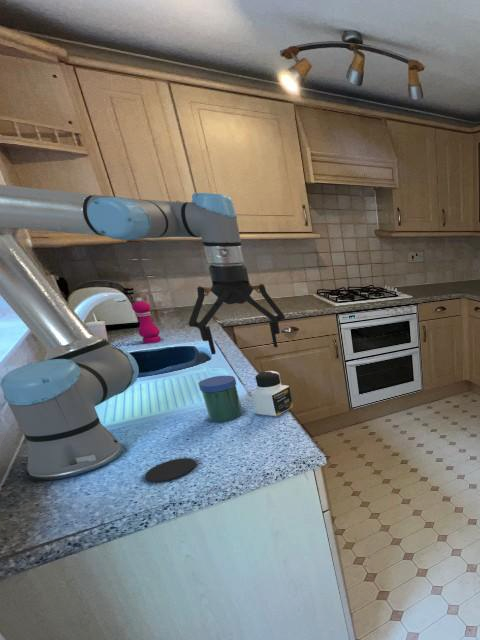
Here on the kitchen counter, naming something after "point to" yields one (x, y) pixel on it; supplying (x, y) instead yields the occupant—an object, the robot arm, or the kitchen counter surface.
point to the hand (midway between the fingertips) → (245, 349)
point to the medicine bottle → (271, 394)
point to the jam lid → (217, 383)
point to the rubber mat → (170, 470)
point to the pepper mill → (146, 322)
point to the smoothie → (97, 328)
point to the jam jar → (223, 405)
